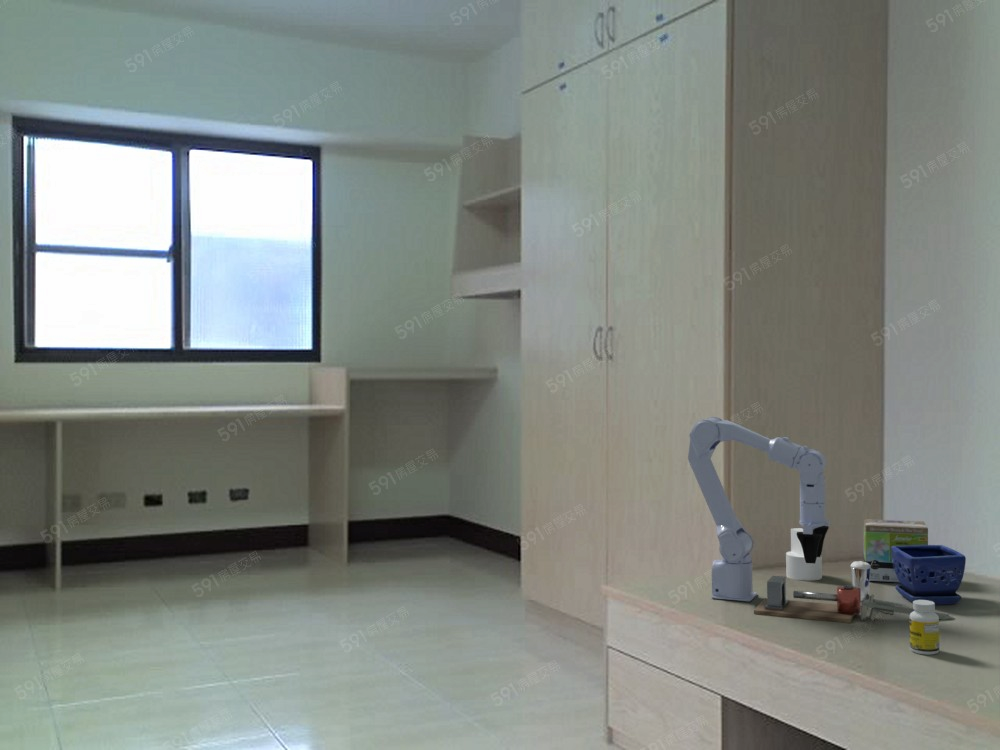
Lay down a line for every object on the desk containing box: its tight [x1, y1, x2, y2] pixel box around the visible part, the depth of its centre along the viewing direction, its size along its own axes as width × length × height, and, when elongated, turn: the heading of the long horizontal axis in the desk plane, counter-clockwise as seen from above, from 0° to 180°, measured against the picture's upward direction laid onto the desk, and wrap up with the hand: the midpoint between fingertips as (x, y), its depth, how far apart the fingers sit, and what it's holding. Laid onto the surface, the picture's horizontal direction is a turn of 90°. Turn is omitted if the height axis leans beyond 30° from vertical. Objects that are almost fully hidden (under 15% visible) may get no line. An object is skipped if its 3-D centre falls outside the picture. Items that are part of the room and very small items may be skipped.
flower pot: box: [891, 544, 967, 605], centre depth 242 cm, size 13×13×12 cm
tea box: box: [863, 518, 929, 583], centre depth 264 cm, size 15×10×15 cm, turn 73°
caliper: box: [860, 593, 956, 622], centre depth 225 cm, size 20×1×6 cm, turn 91°
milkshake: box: [850, 559, 874, 602], centre depth 243 cm, size 4×5×10 cm
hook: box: [793, 584, 862, 615], centre depth 232 cm, size 14×5×6 cm, turn 64°
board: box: [753, 597, 856, 624], centre depth 234 cm, size 21×12×1 cm, turn 64°
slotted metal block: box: [765, 575, 789, 611], centre depth 237 cm, size 4×8×6 cm, turn 154°
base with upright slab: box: [785, 527, 823, 582], centre depth 269 cm, size 9×9×12 cm
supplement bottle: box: [909, 600, 940, 656], centre depth 202 cm, size 5×5×10 cm
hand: (813, 559), depth 241 cm, fingers open, 7 cm apart
